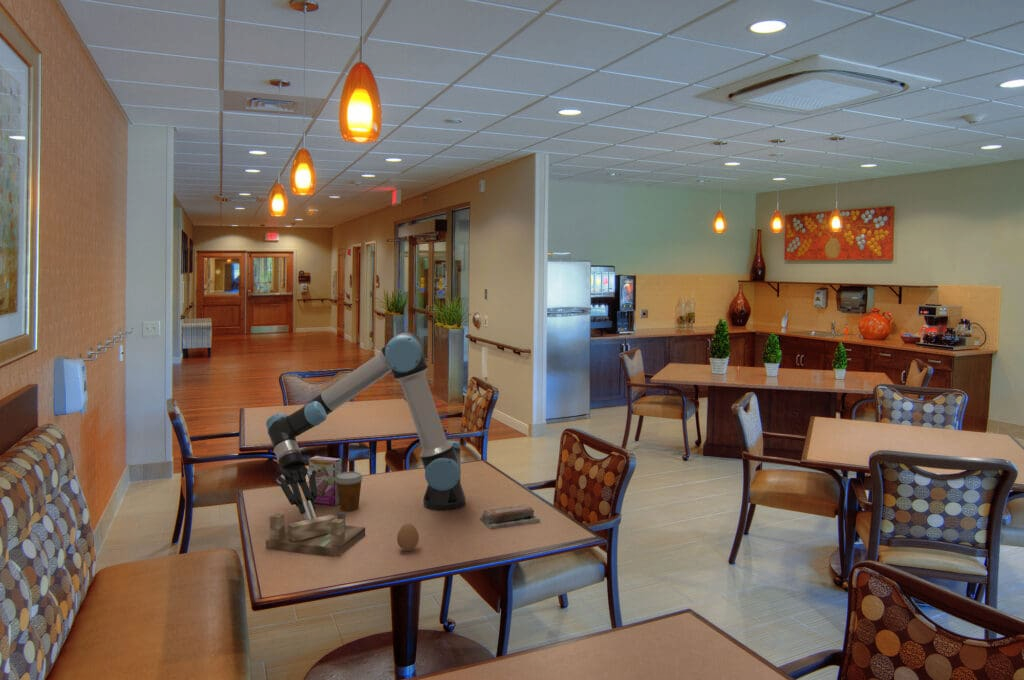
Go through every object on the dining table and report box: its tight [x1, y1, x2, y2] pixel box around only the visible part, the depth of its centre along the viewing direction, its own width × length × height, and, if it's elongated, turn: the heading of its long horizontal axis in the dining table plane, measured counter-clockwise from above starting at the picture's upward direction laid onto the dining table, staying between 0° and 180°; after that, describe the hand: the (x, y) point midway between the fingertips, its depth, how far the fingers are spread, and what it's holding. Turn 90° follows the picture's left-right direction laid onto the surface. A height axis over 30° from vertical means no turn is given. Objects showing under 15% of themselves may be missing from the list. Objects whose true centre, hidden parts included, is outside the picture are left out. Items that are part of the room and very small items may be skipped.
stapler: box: [479, 505, 540, 530], centre depth 239 cm, size 18×5×10 cm
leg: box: [288, 514, 337, 542], centre depth 218 cm, size 14×4×4 cm, turn 128°
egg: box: [396, 523, 420, 552], centre depth 213 cm, size 6×6×8 cm
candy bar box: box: [307, 455, 343, 507], centre depth 256 cm, size 11×5×16 cm, turn 71°
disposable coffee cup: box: [335, 471, 364, 512], centre depth 251 cm, size 10×10×12 cm
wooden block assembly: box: [265, 511, 366, 557], centre depth 220 cm, size 24×18×10 cm
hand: (311, 521), depth 221 cm, fingers closed
